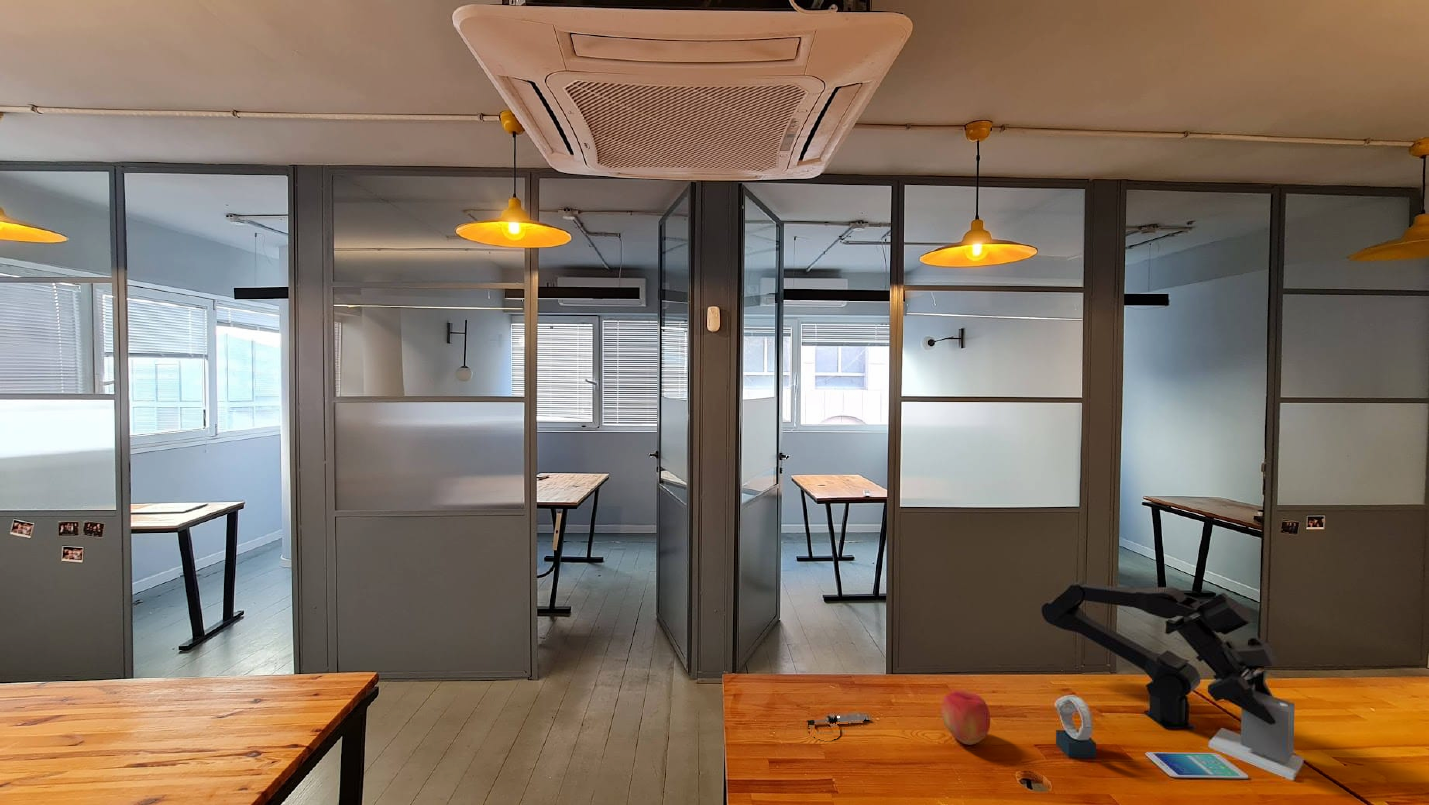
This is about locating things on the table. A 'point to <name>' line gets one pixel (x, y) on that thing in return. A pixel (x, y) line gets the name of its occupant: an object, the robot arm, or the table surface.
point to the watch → (1070, 738)
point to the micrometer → (841, 718)
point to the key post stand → (1254, 755)
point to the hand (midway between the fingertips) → (1276, 719)
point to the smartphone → (1195, 766)
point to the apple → (966, 716)
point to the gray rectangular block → (1270, 728)
